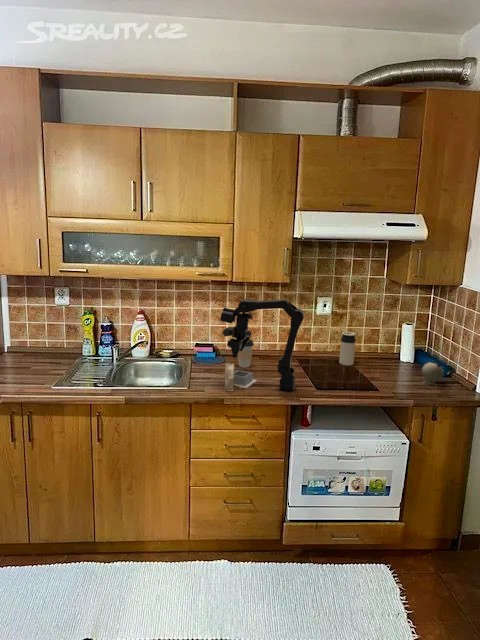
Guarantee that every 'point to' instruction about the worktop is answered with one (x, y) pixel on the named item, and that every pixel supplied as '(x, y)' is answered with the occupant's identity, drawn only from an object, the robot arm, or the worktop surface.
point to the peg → (229, 376)
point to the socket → (243, 378)
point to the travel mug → (347, 348)
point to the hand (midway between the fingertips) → (237, 354)
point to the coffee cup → (245, 354)
